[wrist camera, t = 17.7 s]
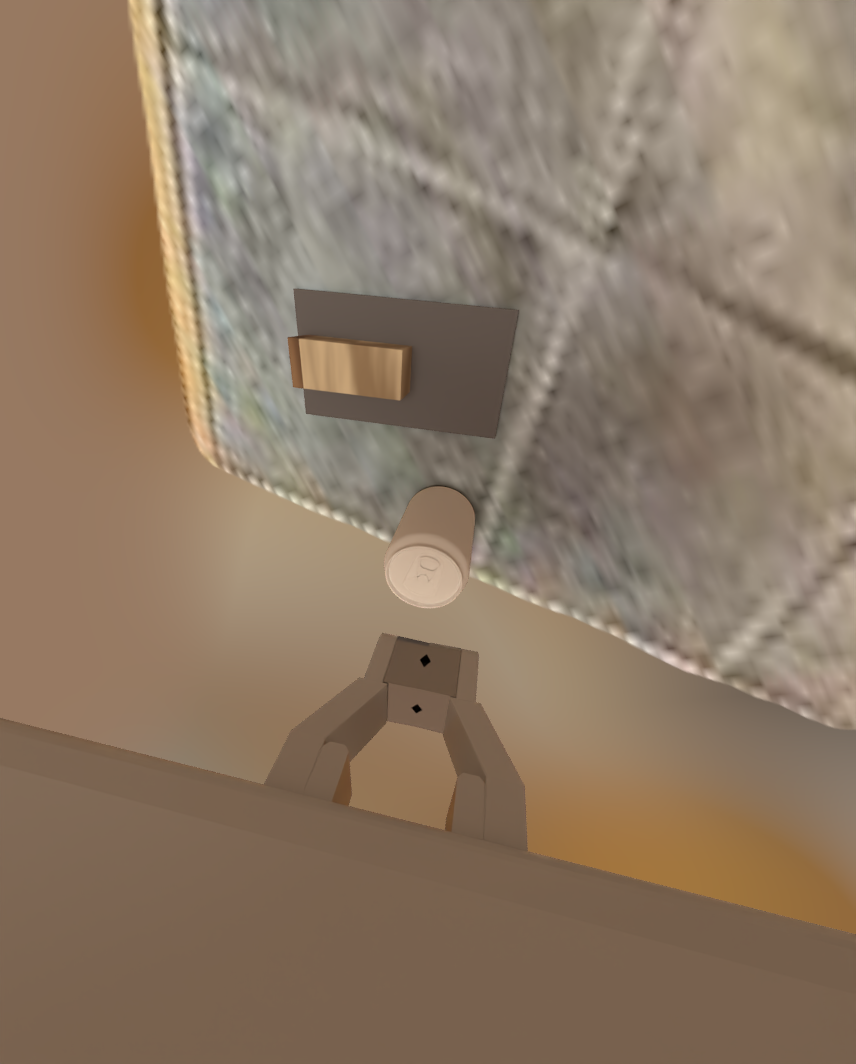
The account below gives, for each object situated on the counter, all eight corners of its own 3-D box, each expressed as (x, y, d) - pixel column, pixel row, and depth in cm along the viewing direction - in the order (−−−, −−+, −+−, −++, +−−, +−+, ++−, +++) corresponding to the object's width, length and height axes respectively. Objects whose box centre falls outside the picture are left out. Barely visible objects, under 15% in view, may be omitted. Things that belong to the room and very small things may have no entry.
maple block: (402, 350, 29) (287, 337, 30) (400, 400, 32) (293, 387, 33) (412, 346, 33) (308, 334, 34) (409, 391, 35) (312, 379, 36)
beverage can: (400, 531, 44) (371, 595, 34) (417, 474, 40) (390, 529, 30) (461, 552, 45) (451, 622, 35) (485, 497, 40) (481, 560, 30)
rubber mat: (518, 310, 30) (518, 310, 30) (495, 436, 36) (494, 438, 36) (296, 288, 32) (293, 288, 32) (308, 412, 38) (306, 413, 38)
